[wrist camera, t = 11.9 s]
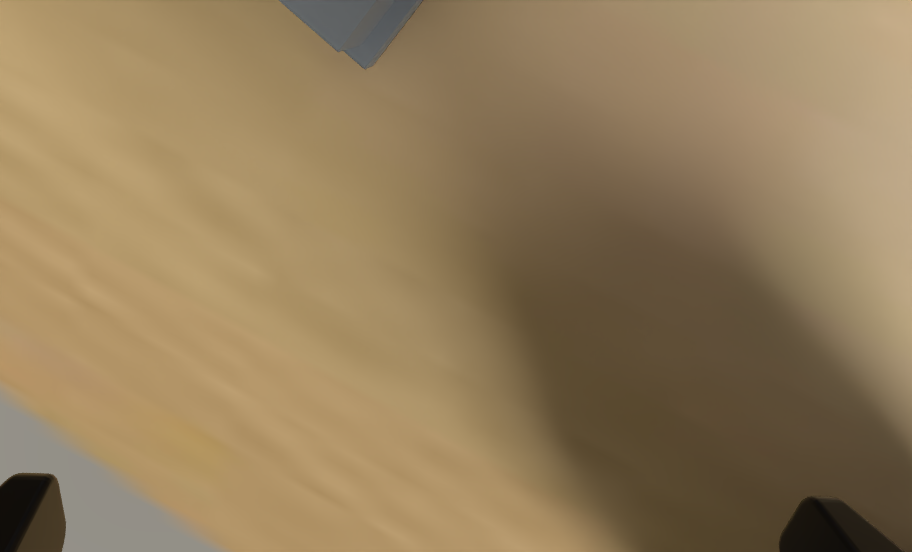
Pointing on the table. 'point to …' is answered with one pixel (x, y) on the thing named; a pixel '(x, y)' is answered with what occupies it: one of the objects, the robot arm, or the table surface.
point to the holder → (355, 24)
